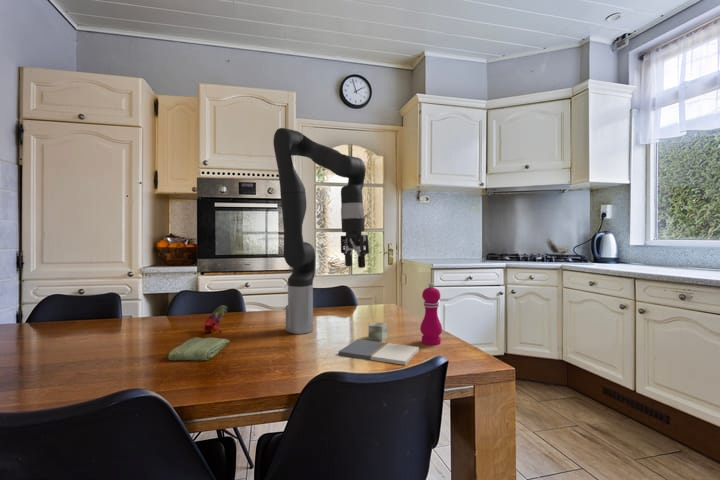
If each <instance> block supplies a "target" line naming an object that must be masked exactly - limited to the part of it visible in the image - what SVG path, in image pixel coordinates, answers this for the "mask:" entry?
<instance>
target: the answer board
mask: <svg viewBox="0 0 720 480" xmlns="http://www.w3.org/2000/svg"><path fill="white" fill-rule="evenodd" d="M419 351H420V346H414V345H413V346H412V345H404V344H398V343H397V344H396V343H390V342H388V341H386V342H383V341H377V340H369V339H368V340H367V339H359V338H358V339H356V340H354V341H352V342H351V343H349V344H348V345H346V346H345V347H343V348H342V349H339V351H338V355H339V356H345V357H351V358H357V359H365V360H372V361H376V362H377V361H378V362H384V363H391V364H397V365H403V366H406V365H407V364H408V363H409V362H410V360H412V358H413V357H414V356H416V354H417V353H418V352H419Z"/></svg>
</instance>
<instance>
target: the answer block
mask: <svg viewBox="0 0 720 480" xmlns="http://www.w3.org/2000/svg"><path fill="white" fill-rule="evenodd" d="M387 338H388V323H387V322H376V321H374V322H371V323H370V324H368V341H376V342H383V341H384V340H386V339H387Z"/></svg>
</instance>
